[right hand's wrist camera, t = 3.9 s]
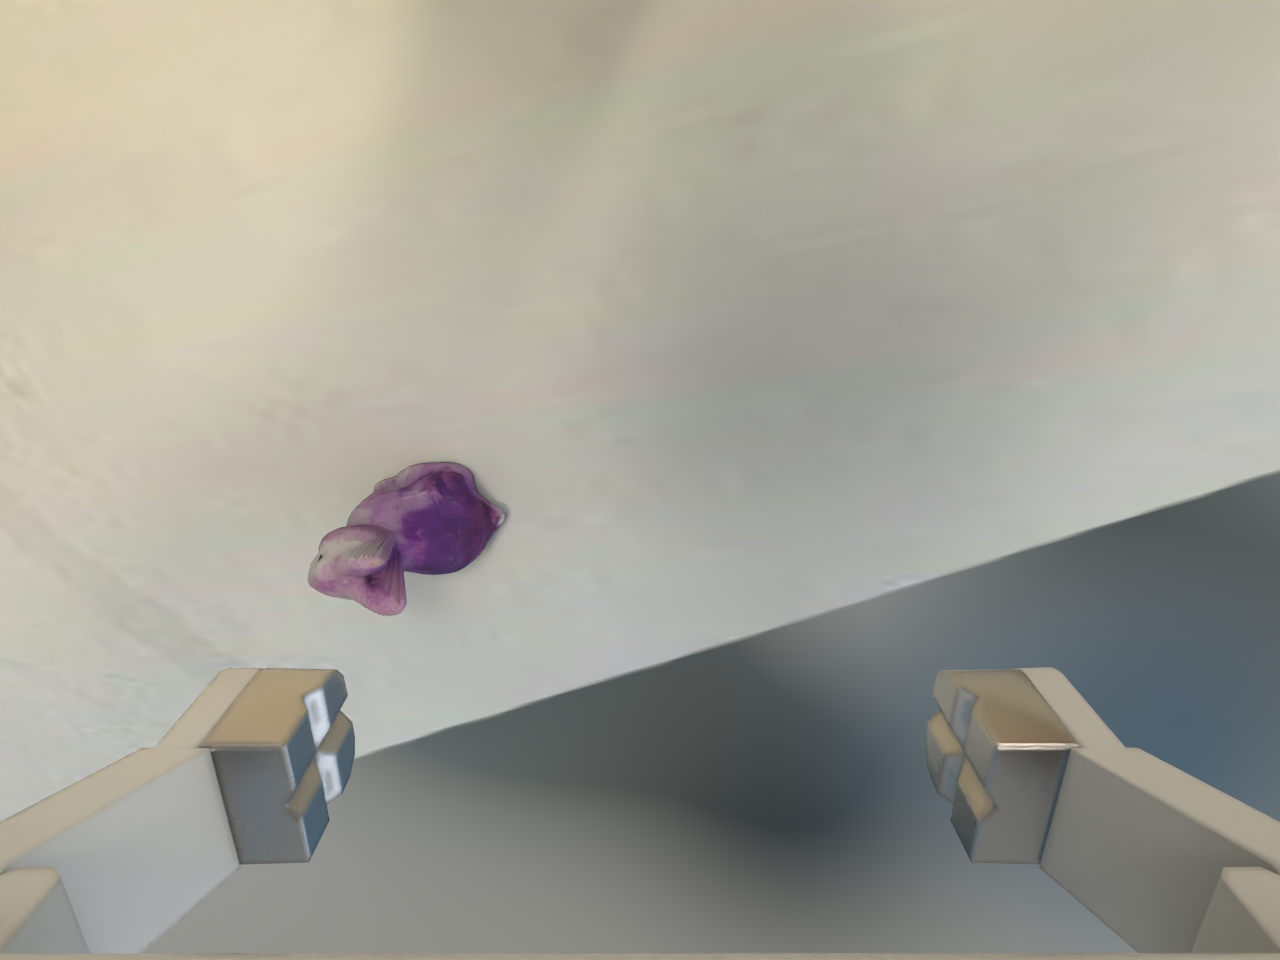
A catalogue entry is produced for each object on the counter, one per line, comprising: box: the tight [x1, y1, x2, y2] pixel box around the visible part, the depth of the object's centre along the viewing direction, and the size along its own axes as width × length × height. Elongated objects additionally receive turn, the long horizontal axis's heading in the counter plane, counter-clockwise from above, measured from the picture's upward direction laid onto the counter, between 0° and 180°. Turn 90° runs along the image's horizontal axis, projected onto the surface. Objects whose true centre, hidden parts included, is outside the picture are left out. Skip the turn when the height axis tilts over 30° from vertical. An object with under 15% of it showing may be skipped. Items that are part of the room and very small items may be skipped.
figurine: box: [308, 462, 505, 616], centre depth 55 cm, size 9×10×15 cm
